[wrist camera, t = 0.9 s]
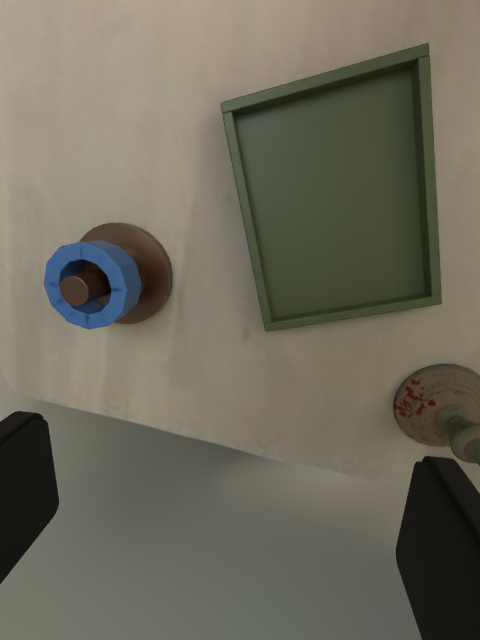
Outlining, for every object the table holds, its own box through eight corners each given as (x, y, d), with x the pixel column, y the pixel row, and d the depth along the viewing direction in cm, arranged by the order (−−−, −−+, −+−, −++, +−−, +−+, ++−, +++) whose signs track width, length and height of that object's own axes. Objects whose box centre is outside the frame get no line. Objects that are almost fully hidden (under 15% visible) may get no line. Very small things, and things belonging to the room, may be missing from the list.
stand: (65, 234, 33) (-7, 239, 25) (157, 212, 32) (112, 210, 23) (96, 327, 36) (40, 359, 28) (183, 312, 34) (151, 341, 26)
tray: (224, 110, 29) (220, 102, 27) (417, 55, 26) (429, 42, 24) (266, 325, 34) (265, 331, 32) (432, 298, 31) (442, 304, 29)
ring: (56, 249, 30) (32, 253, 27) (127, 233, 28) (110, 235, 26) (81, 323, 31) (61, 334, 29) (150, 311, 30) (136, 321, 27)
